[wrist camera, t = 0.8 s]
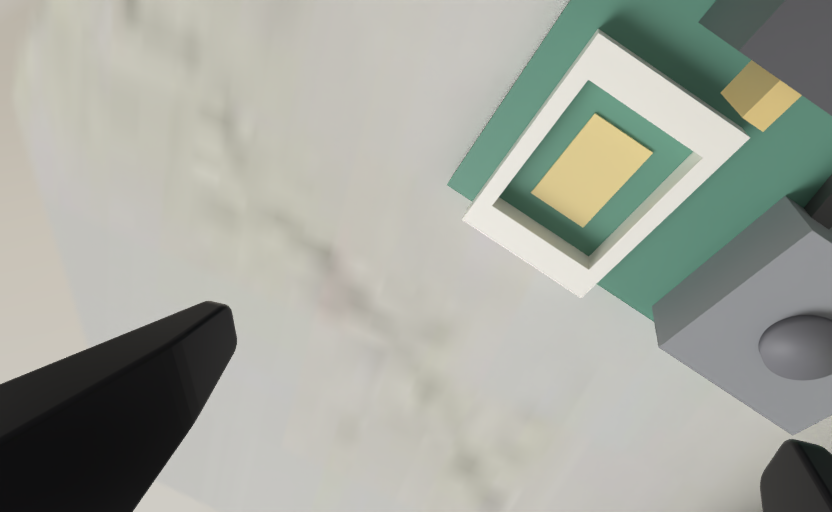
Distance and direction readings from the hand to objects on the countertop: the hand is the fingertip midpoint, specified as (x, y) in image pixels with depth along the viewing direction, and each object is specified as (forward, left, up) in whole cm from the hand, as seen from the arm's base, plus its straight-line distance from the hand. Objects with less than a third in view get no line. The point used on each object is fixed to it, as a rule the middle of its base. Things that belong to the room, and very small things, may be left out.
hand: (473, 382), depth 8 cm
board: (-6, -4, -13) cm, 15 cm away
